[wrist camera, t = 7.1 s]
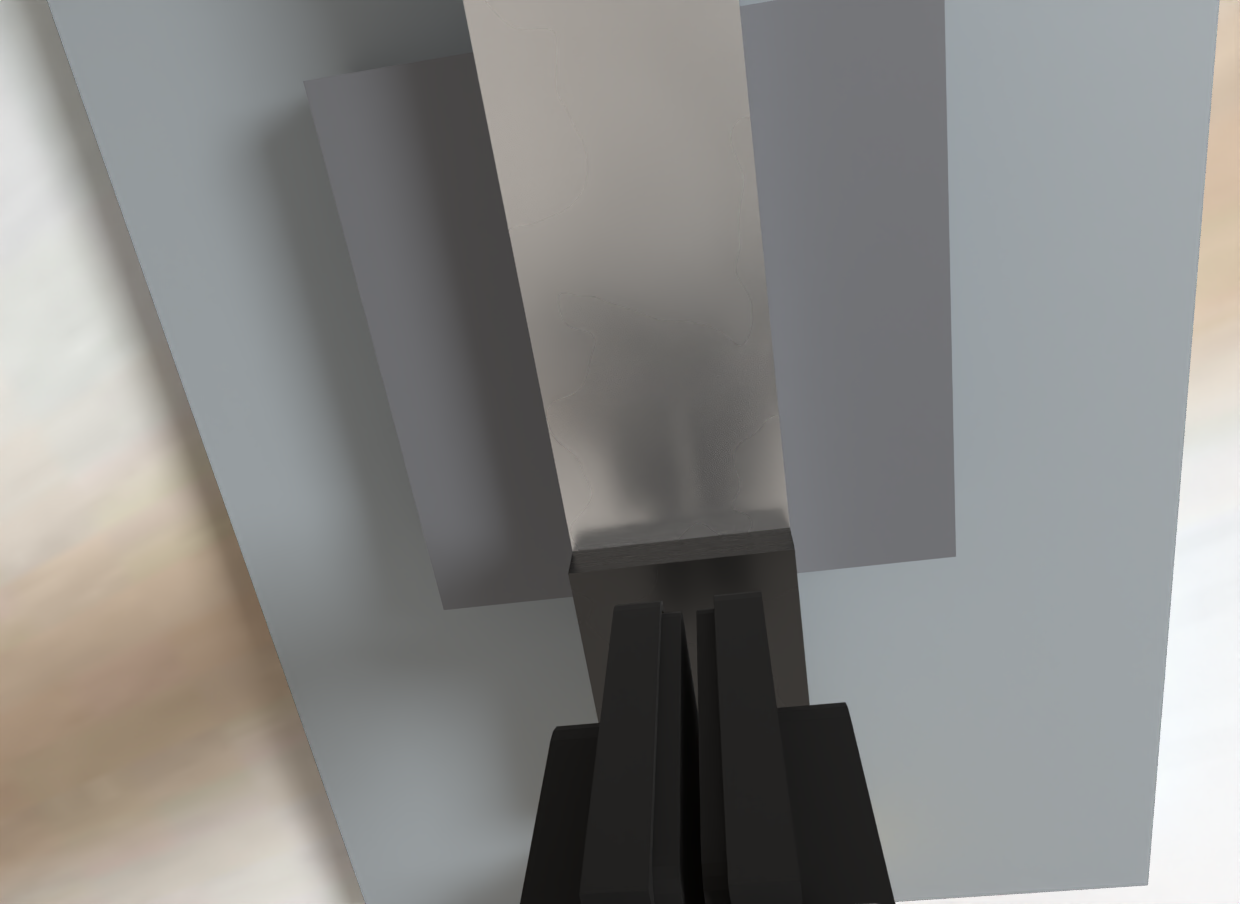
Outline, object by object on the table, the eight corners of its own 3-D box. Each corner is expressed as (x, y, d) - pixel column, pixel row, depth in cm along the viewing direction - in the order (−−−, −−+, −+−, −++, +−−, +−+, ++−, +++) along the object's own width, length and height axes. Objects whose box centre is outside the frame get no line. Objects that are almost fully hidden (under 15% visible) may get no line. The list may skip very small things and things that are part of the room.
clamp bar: (350, -544, 10) (279, -671, 8) (700, -632, 9) (706, -782, 8) (628, 842, 17) (622, 934, 15) (831, 827, 17) (849, 919, 15)
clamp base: (-89, -539, 12) (-678, -982, 7) (1233, -885, 10) (1809, -1838, 5) (392, 890, 22) (299, 1164, 17) (1121, 838, 20) (1282, 1126, 15)
